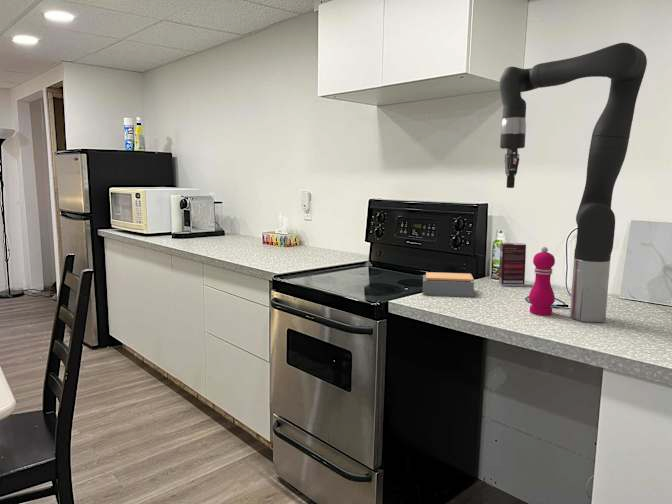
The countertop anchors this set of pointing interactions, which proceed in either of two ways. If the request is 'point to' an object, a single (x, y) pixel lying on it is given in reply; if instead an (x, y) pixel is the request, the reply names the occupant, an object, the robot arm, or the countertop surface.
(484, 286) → the countertop surface
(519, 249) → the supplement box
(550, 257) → the pepper mill
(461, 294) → the grey open box
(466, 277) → the cover
